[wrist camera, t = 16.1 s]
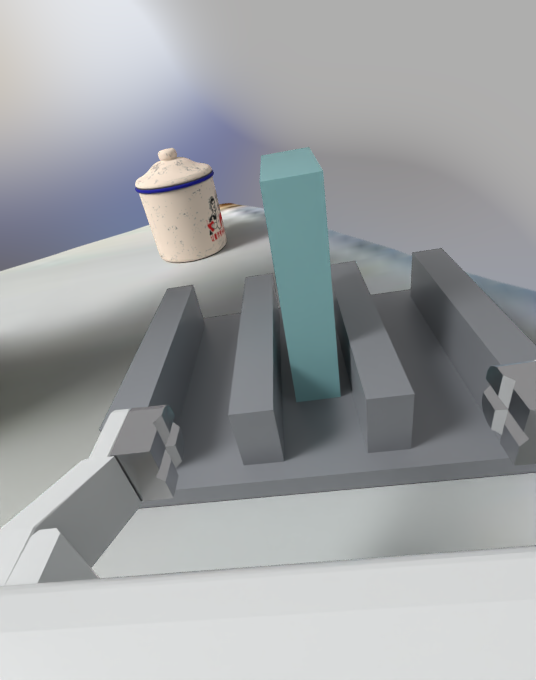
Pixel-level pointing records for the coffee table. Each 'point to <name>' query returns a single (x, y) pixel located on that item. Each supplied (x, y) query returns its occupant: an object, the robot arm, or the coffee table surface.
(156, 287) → the coffee table surface
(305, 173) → the aqua rubber eraser
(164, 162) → the teacup with lid
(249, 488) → the slotted rack
